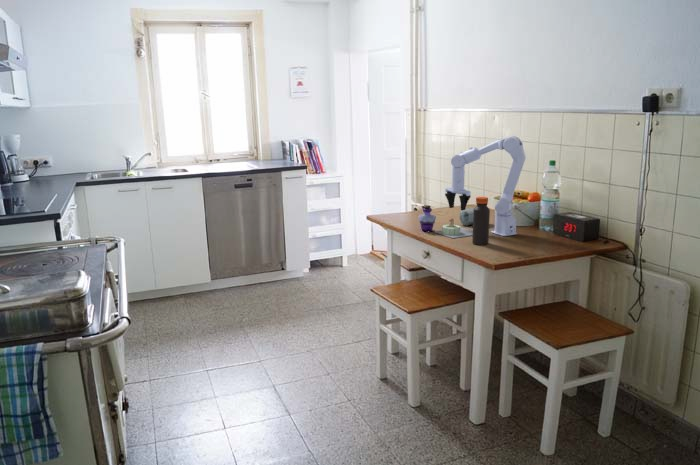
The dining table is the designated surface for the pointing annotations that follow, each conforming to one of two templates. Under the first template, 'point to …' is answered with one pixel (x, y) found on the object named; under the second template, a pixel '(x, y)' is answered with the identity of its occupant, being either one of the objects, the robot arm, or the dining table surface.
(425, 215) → the potion bottle
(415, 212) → the dining table surface
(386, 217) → the dining table surface
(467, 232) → the mat
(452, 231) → the bead
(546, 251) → the dining table surface
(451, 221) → the wooden dowel
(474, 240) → the vinegar
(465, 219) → the yarn skein
